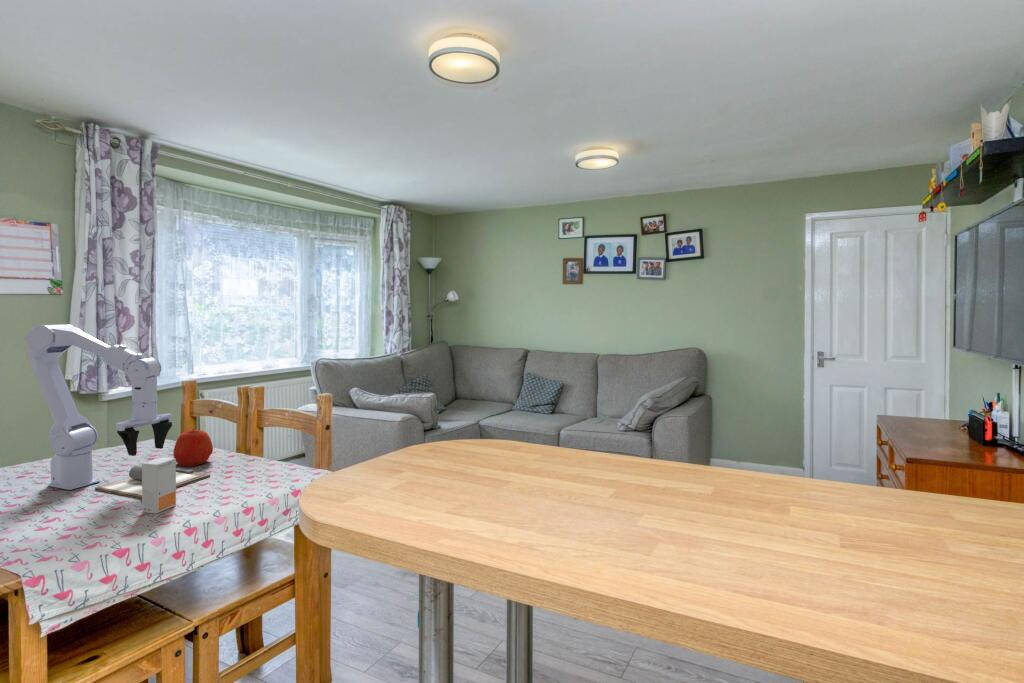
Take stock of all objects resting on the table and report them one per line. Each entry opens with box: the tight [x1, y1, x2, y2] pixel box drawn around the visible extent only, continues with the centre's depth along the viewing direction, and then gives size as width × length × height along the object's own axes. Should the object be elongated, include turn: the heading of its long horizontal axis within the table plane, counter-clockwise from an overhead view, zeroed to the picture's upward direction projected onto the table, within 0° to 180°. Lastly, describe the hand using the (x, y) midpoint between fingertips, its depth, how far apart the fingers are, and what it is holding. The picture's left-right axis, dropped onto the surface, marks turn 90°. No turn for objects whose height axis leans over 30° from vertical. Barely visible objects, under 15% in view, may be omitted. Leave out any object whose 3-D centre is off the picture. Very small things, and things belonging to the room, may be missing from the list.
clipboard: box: [94, 467, 211, 500], centre depth 152 cm, size 18×20×1 cm
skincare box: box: [141, 457, 177, 515], centre depth 133 cm, size 6×4×12 cm
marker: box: [128, 465, 142, 481], centre depth 151 cm, size 13×4×4 cm, turn 70°
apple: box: [172, 429, 214, 467], centre depth 171 cm, size 11×11×11 cm
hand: (146, 451), depth 150 cm, fingers open, 7 cm apart
